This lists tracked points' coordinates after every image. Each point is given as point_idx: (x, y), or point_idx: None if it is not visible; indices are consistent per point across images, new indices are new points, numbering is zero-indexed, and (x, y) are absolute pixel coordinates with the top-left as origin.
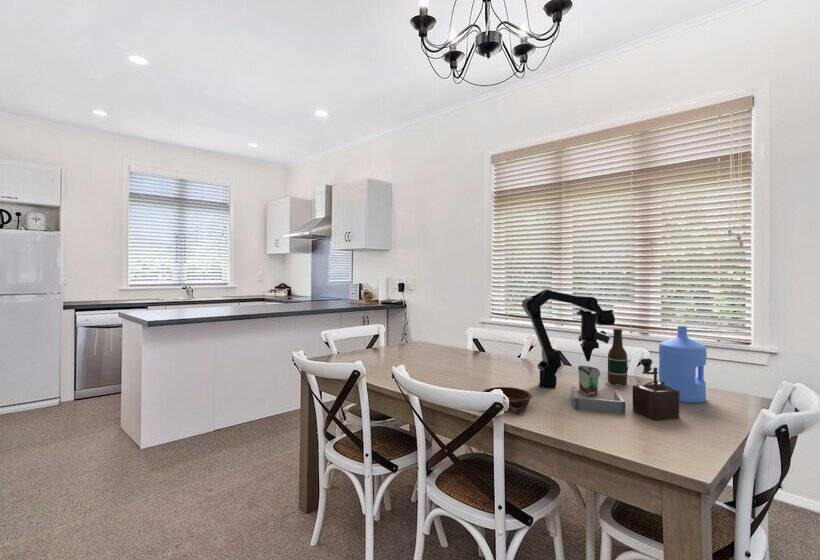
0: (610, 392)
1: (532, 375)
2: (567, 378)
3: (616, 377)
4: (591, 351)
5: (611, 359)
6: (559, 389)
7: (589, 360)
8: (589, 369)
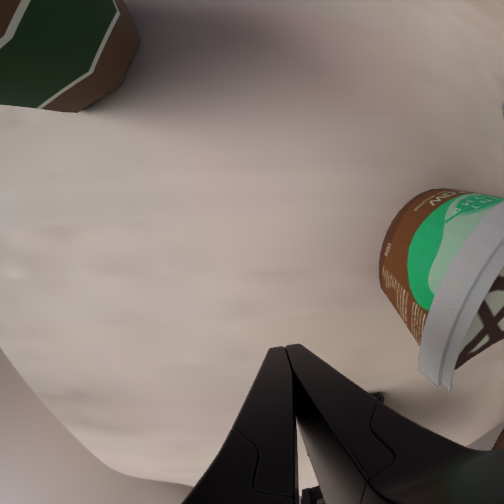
0: (380, 100)
1: (168, 480)
2: (123, 366)
3: (122, 33)
4: (437, 442)
5: (11, 29)
6: (393, 373)
7: (304, 348)
8: (498, 289)
